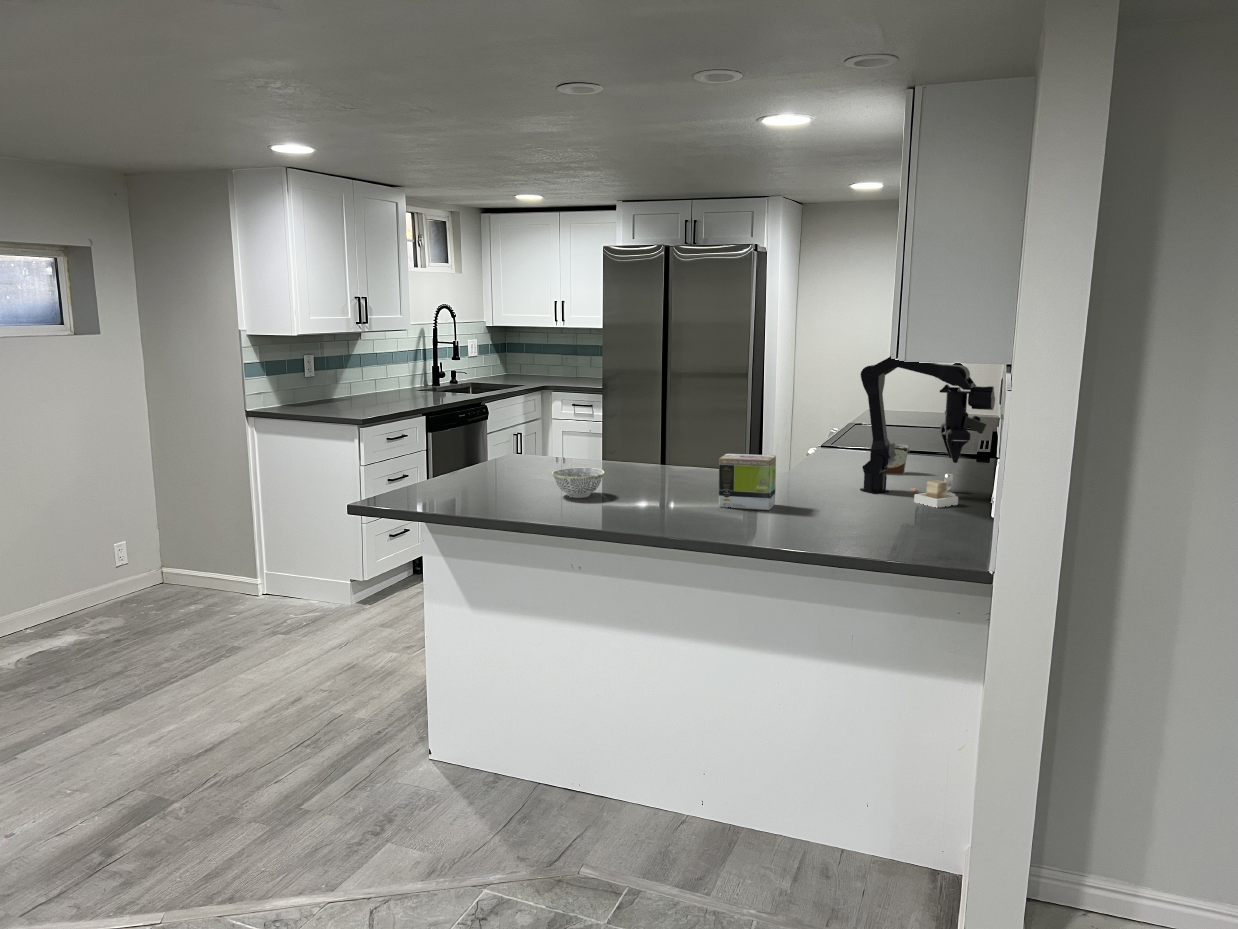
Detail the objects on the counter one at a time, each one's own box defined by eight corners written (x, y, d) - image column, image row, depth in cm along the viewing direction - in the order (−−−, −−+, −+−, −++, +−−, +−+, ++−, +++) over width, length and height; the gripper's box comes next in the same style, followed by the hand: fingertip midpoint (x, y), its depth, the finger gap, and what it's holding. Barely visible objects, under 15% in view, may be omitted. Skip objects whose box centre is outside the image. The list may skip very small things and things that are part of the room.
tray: (936, 507, 260) (937, 499, 260) (914, 502, 268) (914, 494, 267) (957, 504, 264) (958, 496, 264) (934, 499, 272) (935, 491, 271)
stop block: (936, 503, 263) (937, 483, 262) (925, 501, 267) (927, 481, 266) (946, 502, 265) (947, 482, 264) (935, 499, 269) (936, 480, 268)
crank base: (942, 500, 270) (942, 497, 270) (902, 491, 284) (902, 488, 284) (961, 497, 274) (961, 494, 274) (920, 488, 288) (921, 485, 288)
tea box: (775, 504, 265) (777, 454, 262) (769, 511, 256) (770, 460, 253) (725, 500, 270) (726, 451, 267) (717, 507, 261) (718, 457, 258)
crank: (945, 494, 273) (946, 480, 273) (935, 493, 275) (936, 479, 274) (953, 487, 283) (954, 474, 282) (943, 486, 285) (944, 473, 284)
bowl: (549, 501, 269) (549, 476, 268) (555, 490, 285) (554, 466, 283) (603, 501, 268) (603, 476, 267) (605, 490, 284) (605, 467, 283)
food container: (904, 471, 318) (906, 443, 317) (908, 474, 312) (909, 446, 311) (868, 470, 320) (870, 442, 318) (871, 473, 314) (873, 445, 312)
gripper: (990, 412, 256) (987, 466, 259) (980, 405, 274) (976, 456, 277) (949, 411, 258) (946, 465, 261) (941, 404, 276) (938, 455, 279)
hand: (953, 460), depth 269 cm, fingers open, 9 cm apart
